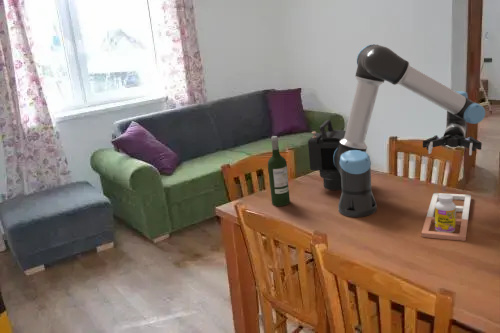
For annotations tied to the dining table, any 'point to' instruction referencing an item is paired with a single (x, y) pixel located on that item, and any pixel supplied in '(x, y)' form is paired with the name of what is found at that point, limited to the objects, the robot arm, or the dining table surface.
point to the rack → (462, 222)
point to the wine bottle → (278, 176)
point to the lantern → (326, 154)
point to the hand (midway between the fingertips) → (449, 150)
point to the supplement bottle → (445, 214)
